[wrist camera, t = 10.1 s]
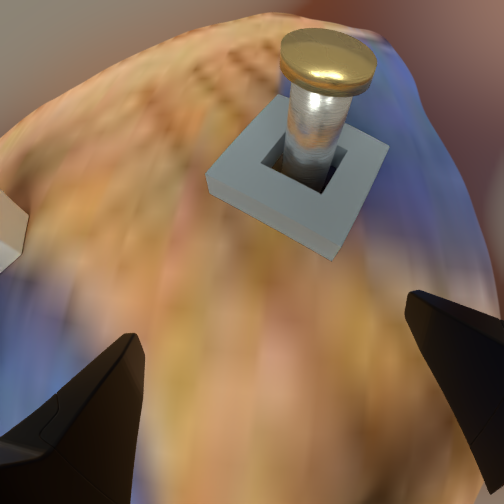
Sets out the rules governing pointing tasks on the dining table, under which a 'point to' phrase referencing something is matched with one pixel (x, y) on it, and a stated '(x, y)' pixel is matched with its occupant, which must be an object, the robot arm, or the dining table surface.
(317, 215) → the socket block
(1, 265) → the jar
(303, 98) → the pin
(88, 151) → the dining table surface
